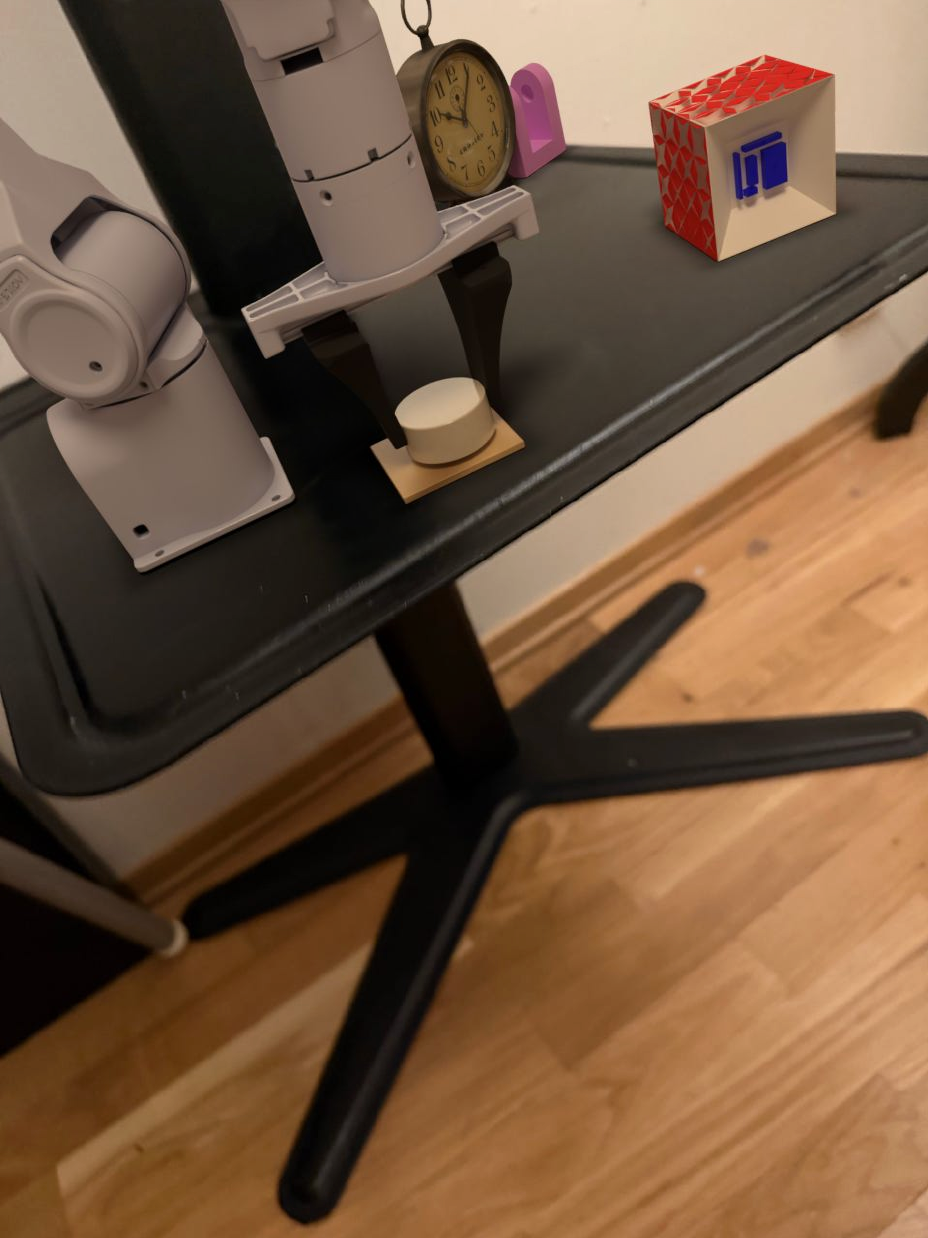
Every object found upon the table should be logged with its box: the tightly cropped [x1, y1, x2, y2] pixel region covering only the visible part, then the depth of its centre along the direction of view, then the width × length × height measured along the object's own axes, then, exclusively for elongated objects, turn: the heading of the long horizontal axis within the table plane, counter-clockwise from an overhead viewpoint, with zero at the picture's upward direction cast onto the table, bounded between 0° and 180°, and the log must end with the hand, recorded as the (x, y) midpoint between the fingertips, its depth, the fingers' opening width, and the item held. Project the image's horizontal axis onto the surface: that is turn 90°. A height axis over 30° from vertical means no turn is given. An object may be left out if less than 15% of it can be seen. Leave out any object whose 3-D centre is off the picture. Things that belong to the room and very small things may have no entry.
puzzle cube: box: [647, 54, 837, 263], centre depth 56 cm, size 8×8×8 cm
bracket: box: [508, 62, 567, 179], centre depth 79 cm, size 13×6×7 cm, turn 46°
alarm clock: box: [396, 0, 516, 209], centre depth 70 cm, size 11×5×16 cm, turn 142°
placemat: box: [369, 407, 526, 505], centre depth 49 cm, size 7×6×1 cm
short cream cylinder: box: [394, 376, 495, 464], centre depth 48 cm, size 5×5×2 cm
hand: (444, 417), depth 48 cm, fingers closed on short cream cylinder, 5 cm apart
